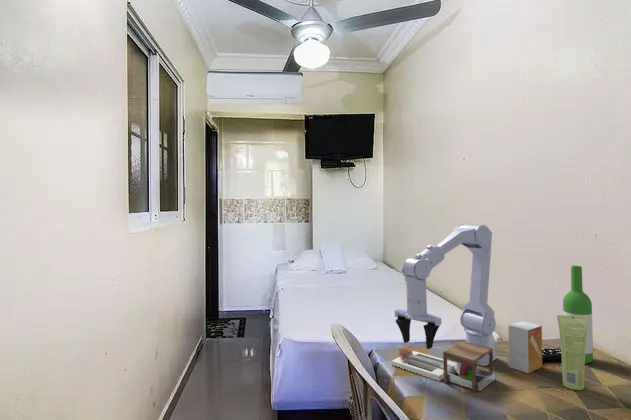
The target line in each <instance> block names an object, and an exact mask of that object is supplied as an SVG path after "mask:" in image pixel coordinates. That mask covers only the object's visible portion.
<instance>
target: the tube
mask: <svg viewBox="0 0 631 420" xmlns="http://www.w3.org/2000/svg"><path fill="white" fill-rule="evenodd" d="M556 318H557V323H558V329H559V330H558V331H559V339H560V352H561V370H562V372H561V373H562V385H563V386H564V387H565V388H568V389H570V390H573V391H574V390H575V391H582V390H584V389H585V369H586V368H585V366H586V364H585V348H586V334H587V325H588V317H582V316H565V315H563V314H557V316H556Z"/></svg>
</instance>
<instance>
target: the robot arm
mask: <svg viewBox="0 0 631 420" xmlns="http://www.w3.org/2000/svg"><path fill="white" fill-rule="evenodd" d="M492 241H493V232H492V231H491V230H490V228H489V227H488V226H487V225H485V224H479V225H477V224H476V225H475V224H464V223H461V224H458V225H457V226H456V227H454V228H453V230H452V232H451V233H450V234H449V235H447V236H446V237H445V238H444V239H443V240H442V241H441V242H439V243H438V244H437V245H436V244H432V245H431V244H428V245H427V246H426V248H425V249H424V250H423V251H421V252H420V253H416V254H415V256H414V257H413V258H411V257H409V258H408V259H406V260H405V261H404V262H403V265H402V267H401V269H400V270H401V272H402V275H404V281H405V283H406V284H405V285H406V309H405V310H404V309H399V308H398V309H395V310H394V317H395V318H397V319H395V324H396V325H397V327H398V328H399V330H400V333H401V336H402V341H403V343H405V344H407V343H409V342H410V340H411V339H410V338H411V334H410V330H411V322H412V320H413V321H417V322H422V323H426V324H423V325H422V326H423V330H424V335H425V347H426V349H427V350H430V349H432V348H433V345H434V340H435V337H436V335H437V332H438V330H439V328H440V327H441V325H442V317H439V316H436V315H433V314H430V313H428V308H427V306H428V303H427V279H428V278H429V277H430V275H431V272H432V270H433V269H434V268H435V267H437V265H439V264H441V263H442V262H443V261H444V260H445V255H446V254H448V253H450V251H452V250H454V249H455V248H457V247H458V246H460V245H462V246H463V247H465V248H467V249H468V250H469V252H470V253H472V261H471V275H470V276H471V277H470V290H469V301H468V302H466V303H465V304H464V305H463V306H462V312H461V314H460V316H459V317H460V318H459V321H460V325H461V326H462V327H463V331H465V340H466V341H465V342H468V343H472V344H477V345H481V346H485V347H489V348H493V362H494V361H496V359H498V356H497V355H495V337H494V335H493V333H494V331H495V329H496V325H497V323H496V319H495V311H494V309H492V307H491V306H490V305H489V303H488V299H489V283H490V273H491V272H490V270H491V269H490V268H491V259H492V258H491V257H492V256H491V255H492ZM478 363H479V364H478ZM477 364H478V366H482V367H487V366H489V354H487V355H486V356H484V357H483V358H481V359H480V360H478V361H477Z"/></svg>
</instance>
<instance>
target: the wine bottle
mask: <svg viewBox="0 0 631 420" xmlns="http://www.w3.org/2000/svg"><path fill="white" fill-rule="evenodd" d="M592 304H593V303H592V300H591V298H590V296H588V295H587V293H585V292H584V290H583V267H582V266H581V265H571V266H570V291H569V292H567V293H566V294H565V295H564V297H563V300H562V315H565V316H582V317H588V325H587V334H586V348H585V365H586V364H591V363H592V362H593V359H594V338H593V336H594V334H593V305H592Z"/></svg>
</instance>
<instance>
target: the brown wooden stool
mask: <svg viewBox="0 0 631 420" xmlns="http://www.w3.org/2000/svg"><path fill="white" fill-rule="evenodd" d="M442 354H443V356H442V357H443V358H442V359H443V362H444V380H443V383H444V384H448V383H449V381H448V372H447V360H448V361H451V362H455V363H456V362H459V363H462V364H466V365H469V366H472V390H471V392H472V393H474V394H475V393H476V392H477V390H476V382H477V378H476V376H477V375H476V364H475V362H477V361H478V360H480V359H481V358H483V357H484V356H486V355H487V354H489V364H488V367H489V368H488V369H489V370H488V371H491V372H494V361H493V348H489V347H485V346H481V345H477V344H472V343H468V342H466V341H463V340H462V341H461V342H458V343H457V344H455V345H454V346H452V347H449V348H448V349H446V350H444V351H443V352H442Z"/></svg>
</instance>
